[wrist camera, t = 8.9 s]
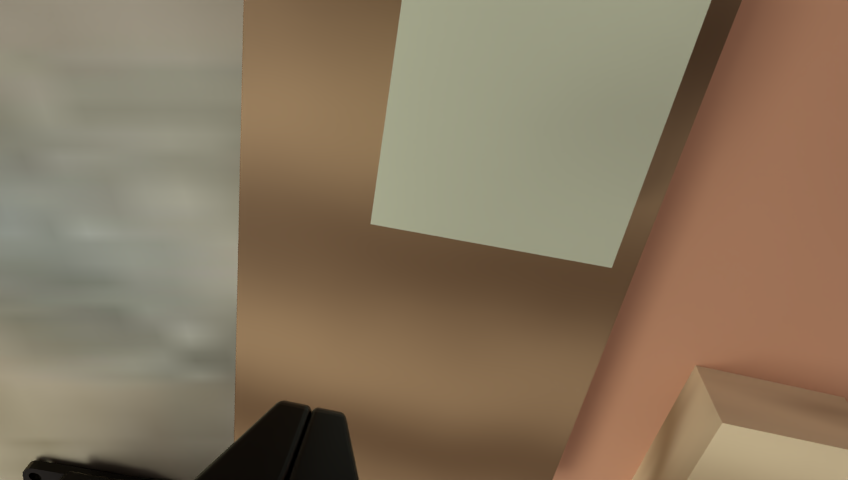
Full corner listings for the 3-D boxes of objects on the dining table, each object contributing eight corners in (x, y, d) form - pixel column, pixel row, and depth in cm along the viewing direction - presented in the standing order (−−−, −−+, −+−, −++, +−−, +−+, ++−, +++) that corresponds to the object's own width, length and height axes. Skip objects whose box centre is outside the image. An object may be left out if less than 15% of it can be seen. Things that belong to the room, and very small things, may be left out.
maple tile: (643, 550, 21) (627, 487, 23) (786, 579, 21) (757, 515, 23) (722, 422, 18) (695, 365, 20) (888, 458, 18) (844, 397, 20)
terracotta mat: (853, 533, 24) (861, 544, 23) (533, 476, 24) (534, 487, 23) (1296, -22, 14) (1323, -20, 14) (757, -126, 14) (766, -128, 13)
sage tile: (591, 213, 15) (611, 267, 13) (386, 175, 15) (370, 224, 13) (684, -61, 12) (729, -51, 10) (428, -111, 12) (417, -111, 10)
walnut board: (527, 456, 23) (533, 527, 21) (261, 409, 23) (233, 475, 20) (718, -81, 14) (771, -76, 12) (289, -164, 14) (247, -176, 12)
